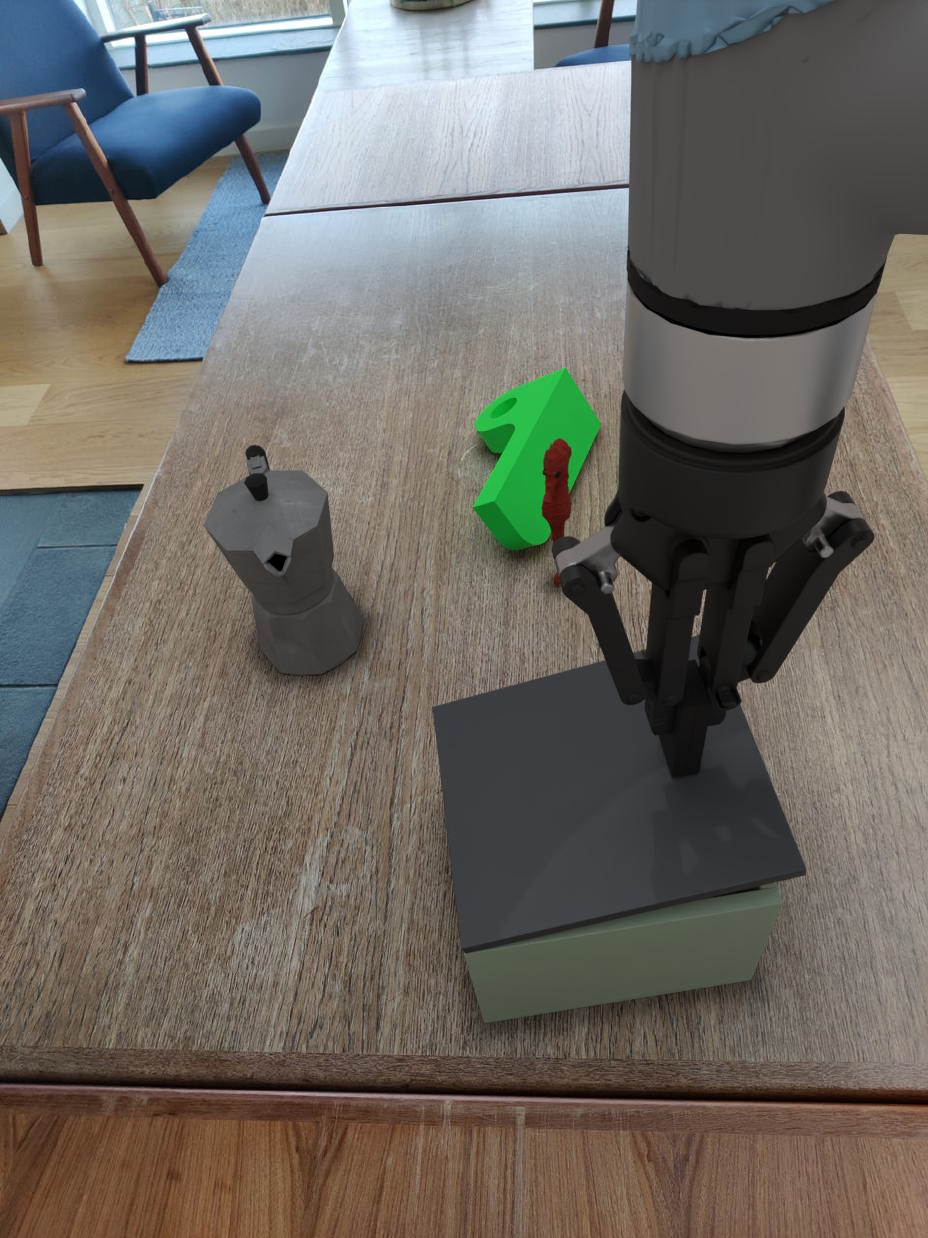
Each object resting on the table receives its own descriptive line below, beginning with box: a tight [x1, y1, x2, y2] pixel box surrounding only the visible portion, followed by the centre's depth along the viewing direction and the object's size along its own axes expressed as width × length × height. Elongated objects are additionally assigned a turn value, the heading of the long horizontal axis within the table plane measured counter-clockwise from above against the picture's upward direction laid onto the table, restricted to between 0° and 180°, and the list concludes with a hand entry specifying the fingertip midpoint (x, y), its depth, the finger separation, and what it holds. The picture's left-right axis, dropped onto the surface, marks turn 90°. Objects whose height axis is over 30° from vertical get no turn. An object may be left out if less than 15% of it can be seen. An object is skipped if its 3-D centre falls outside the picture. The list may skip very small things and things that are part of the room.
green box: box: [463, 882, 784, 1024], centre depth 55 cm, size 17×15×12 cm
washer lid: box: [432, 634, 807, 954], centre depth 49 cm, size 18×15×1 cm
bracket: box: [472, 367, 602, 551], centre depth 86 cm, size 20×10×7 cm
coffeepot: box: [203, 444, 365, 677], centre depth 71 cm, size 15×9×18 cm, turn 16°
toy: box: [541, 438, 572, 587], centre depth 73 cm, size 2×5×15 cm, turn 159°
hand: (678, 753), depth 48 cm, fingers closed
